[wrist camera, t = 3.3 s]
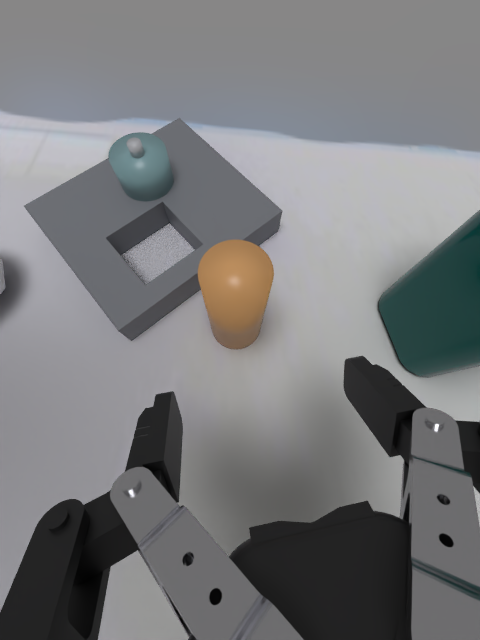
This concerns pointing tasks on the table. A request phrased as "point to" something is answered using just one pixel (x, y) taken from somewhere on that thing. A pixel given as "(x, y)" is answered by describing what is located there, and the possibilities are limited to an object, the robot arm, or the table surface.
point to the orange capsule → (235, 290)
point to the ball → (1, 277)
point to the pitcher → (438, 307)
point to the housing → (150, 219)
